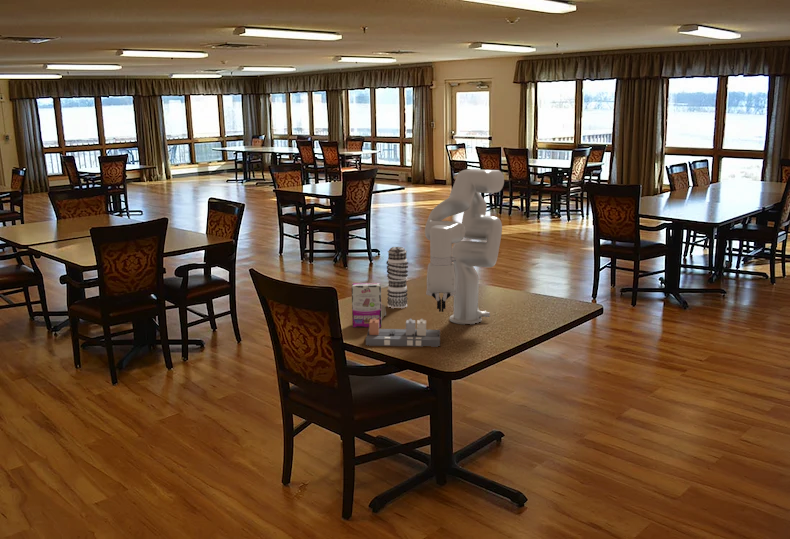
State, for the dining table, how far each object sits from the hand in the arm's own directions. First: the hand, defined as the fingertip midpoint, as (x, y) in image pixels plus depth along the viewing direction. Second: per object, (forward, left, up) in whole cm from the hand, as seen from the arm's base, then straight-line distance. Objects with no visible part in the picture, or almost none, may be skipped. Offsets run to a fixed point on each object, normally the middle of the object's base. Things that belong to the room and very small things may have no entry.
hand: (441, 310), depth 258 cm
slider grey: (+11, +1, -9) cm, 14 cm away
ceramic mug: (+26, -28, -12) cm, 40 cm away
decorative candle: (+18, -46, -11) cm, 51 cm away
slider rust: (+24, +1, -8) cm, 25 cm away
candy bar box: (+28, -17, -11) cm, 35 cm away
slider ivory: (+7, +1, -8) cm, 11 cm away
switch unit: (+13, +1, -11) cm, 17 cm away
